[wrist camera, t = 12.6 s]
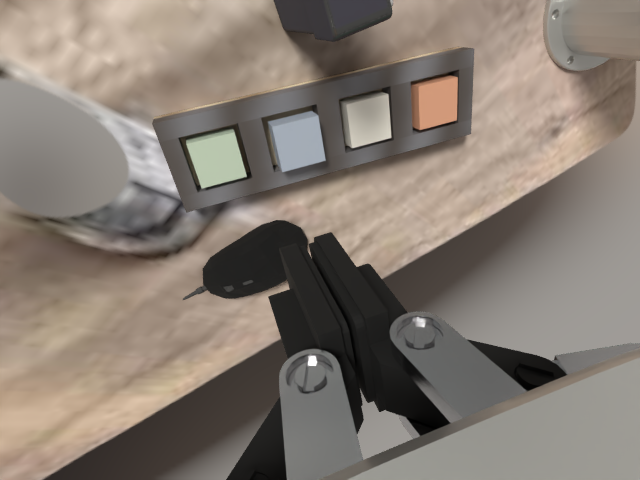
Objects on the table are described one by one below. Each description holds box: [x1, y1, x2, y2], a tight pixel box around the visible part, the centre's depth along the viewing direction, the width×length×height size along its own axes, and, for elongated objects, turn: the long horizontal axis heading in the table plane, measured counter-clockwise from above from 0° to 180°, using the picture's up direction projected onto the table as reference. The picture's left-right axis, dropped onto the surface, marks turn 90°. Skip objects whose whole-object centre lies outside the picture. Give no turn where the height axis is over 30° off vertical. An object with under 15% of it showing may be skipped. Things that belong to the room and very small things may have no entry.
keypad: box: [153, 47, 474, 212], centre depth 37 cm, size 29×8×3 cm, turn 100°
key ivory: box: [339, 91, 391, 148], centre depth 37 cm, size 4×4×2 cm
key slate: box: [268, 111, 326, 172], centre depth 35 cm, size 4×4×2 cm
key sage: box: [186, 127, 247, 188], centre depth 35 cm, size 4×4×2 cm
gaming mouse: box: [183, 220, 307, 300], centre depth 42 cm, size 6×15×4 cm, turn 115°
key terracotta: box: [411, 75, 458, 130], centre depth 38 cm, size 4×4×2 cm
